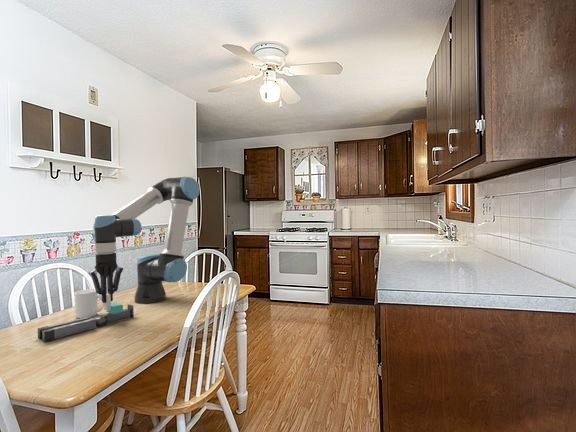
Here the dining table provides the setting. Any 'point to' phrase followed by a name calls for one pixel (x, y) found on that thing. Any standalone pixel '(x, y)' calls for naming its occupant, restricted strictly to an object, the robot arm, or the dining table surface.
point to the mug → (86, 303)
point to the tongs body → (97, 319)
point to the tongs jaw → (68, 329)
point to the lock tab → (116, 308)
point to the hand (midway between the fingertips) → (107, 309)
